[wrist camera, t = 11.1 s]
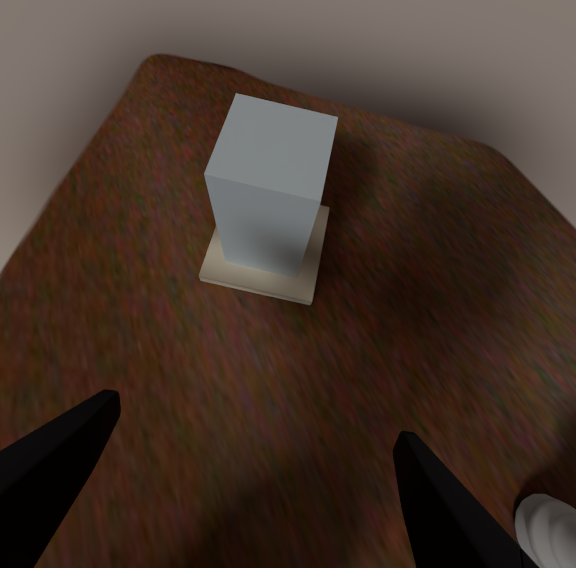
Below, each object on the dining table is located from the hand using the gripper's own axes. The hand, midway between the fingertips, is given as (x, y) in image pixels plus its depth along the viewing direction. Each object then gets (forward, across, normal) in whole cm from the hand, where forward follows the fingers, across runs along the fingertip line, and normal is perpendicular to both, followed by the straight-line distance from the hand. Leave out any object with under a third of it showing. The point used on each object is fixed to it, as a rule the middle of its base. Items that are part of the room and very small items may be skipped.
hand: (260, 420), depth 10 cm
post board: (+18, +2, 0) cm, 18 cm away
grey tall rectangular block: (+17, +1, -1) cm, 17 cm away
